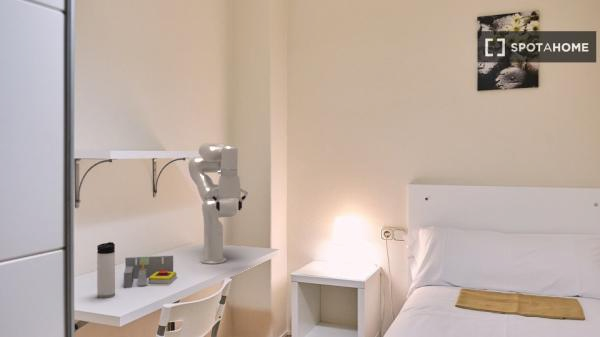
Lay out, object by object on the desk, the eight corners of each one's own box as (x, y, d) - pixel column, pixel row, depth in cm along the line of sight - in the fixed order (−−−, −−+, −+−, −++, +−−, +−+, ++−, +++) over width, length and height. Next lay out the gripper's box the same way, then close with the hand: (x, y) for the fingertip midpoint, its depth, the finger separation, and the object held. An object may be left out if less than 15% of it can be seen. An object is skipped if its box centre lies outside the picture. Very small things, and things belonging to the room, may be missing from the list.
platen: (139, 278, 212) (139, 261, 212) (147, 278, 213) (147, 261, 213) (138, 285, 201) (138, 267, 201) (146, 285, 202) (146, 266, 202)
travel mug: (118, 293, 191) (118, 242, 190) (108, 298, 185) (108, 245, 184) (104, 292, 192) (104, 241, 192) (93, 297, 186) (93, 244, 185)
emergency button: (178, 268, 217) (168, 276, 202) (178, 278, 217) (168, 287, 202) (157, 267, 218) (145, 276, 203) (157, 277, 218) (145, 287, 203)
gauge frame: (125, 278, 214) (125, 257, 214) (173, 275, 220) (173, 255, 219) (122, 287, 199) (122, 265, 199) (173, 284, 205) (173, 263, 204)
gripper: (210, 173, 221) (210, 211, 222) (249, 173, 226) (248, 210, 226) (209, 173, 228) (209, 209, 229) (246, 172, 233) (246, 209, 233)
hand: (229, 210), depth 228 cm, fingers open, 9 cm apart
